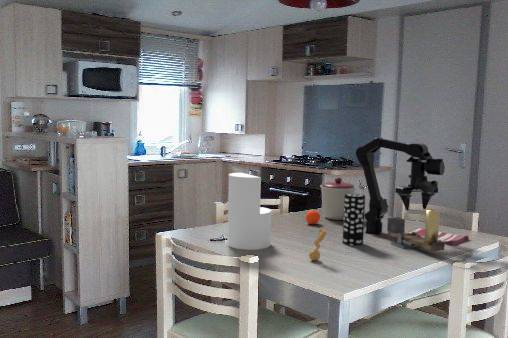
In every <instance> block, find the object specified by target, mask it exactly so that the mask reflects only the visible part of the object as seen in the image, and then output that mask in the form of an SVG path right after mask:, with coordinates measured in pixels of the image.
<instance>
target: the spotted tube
mask: <svg viewBox="0 0 508 338" xmlns="http://www.w3.org/2000/svg"><path fill="white" fill-rule="evenodd" d="M365 209H366V195H365V194H361V193H354V194H345V196H344V220H343V221H342V222H343V225H342V244H344V245H346V246H350V247H351V246H353V247H359V246H362V245H364V235H365V234H364V233H365V231H364V230H365V217H364V215H365V214H366V211H365Z"/></svg>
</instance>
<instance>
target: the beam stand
mask: <svg viewBox="0 0 508 338" xmlns="http://www.w3.org/2000/svg"><path fill="white" fill-rule="evenodd" d="M412 235H413V236H416V237H418V233H416V232H412ZM403 236H404V234H402V233H398V238H397V240H395V241H390V244H391V245H393V246H395V247H398V248H400V249H403V250H405V249H417V248H422V247H421V246H418V245H415V244H412V243H410V242H407V241H404V240H403Z"/></svg>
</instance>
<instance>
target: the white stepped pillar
mask: <svg viewBox="0 0 508 338" xmlns="http://www.w3.org/2000/svg"><path fill="white" fill-rule="evenodd" d="M261 181H262V177H261V176H256V175H252V174H250V173H246V172H245V173H244V172H230V173H228V196H227V197H228V198H227V199H228V200H227V201H228V202H227V208H228V209H227V245H228V246H229V247H230V248H233V249H239V250H251V251H253V250H263V249H267V248H269V247H271V242H272V240H271V239H272V238H271V237H272V210H271V209H270V208H267V207H263V206H262V207H261V191H262V190H261V186H262V184H261Z"/></svg>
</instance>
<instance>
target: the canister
mask: <svg viewBox="0 0 508 338" xmlns="http://www.w3.org/2000/svg"><path fill="white" fill-rule="evenodd" d="M342 181H343V179H342V177H338V176H337V177H335V178H334V181H328V182H327V181H326V182H324V183H322V184H320V185H319V188H321V201H322V202H321V203H322V204H321V205H322V213H323V216H324V217H325V218H326V219H328V220H335V221H342V220H344V196H345V194H355V191H356V189H357V186H355V185H354V184H352V183H348V182H344V181H343V182H342Z"/></svg>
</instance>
